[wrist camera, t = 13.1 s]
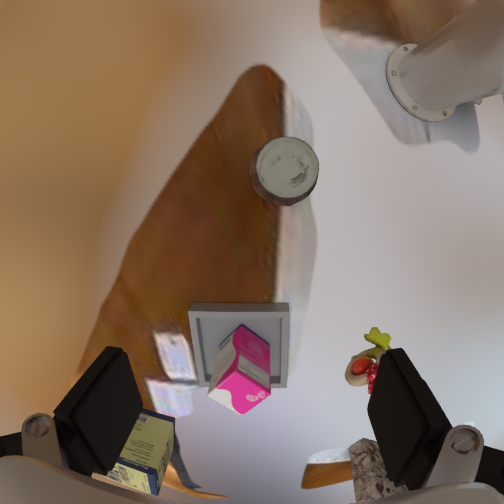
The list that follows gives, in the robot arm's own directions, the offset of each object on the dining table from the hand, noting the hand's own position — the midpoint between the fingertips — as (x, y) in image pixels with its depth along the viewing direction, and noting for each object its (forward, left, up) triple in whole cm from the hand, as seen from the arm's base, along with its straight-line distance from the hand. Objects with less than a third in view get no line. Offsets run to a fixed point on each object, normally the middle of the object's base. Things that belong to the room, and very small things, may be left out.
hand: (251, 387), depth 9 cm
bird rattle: (-16, +20, -31) cm, 40 cm away
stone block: (-24, +50, -31) cm, 63 cm away
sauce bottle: (-2, -7, -31) cm, 31 cm away
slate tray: (+4, +18, -30) cm, 35 cm away
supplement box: (+3, +18, -30) cm, 35 cm away
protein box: (+27, +41, -31) cm, 58 cm away
